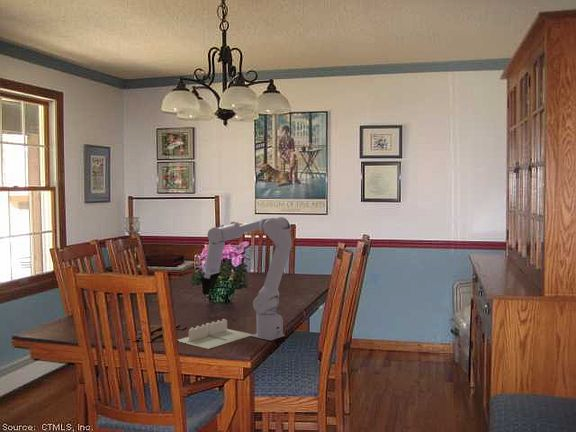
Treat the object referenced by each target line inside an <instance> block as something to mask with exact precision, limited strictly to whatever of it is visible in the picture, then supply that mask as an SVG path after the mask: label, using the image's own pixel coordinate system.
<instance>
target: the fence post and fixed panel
mask: <svg viewBox="0 0 576 432" xmlns="http://www.w3.org/2000/svg"><path fill="white" fill-rule="evenodd" d="M211 324H212V322H211V323H210V322H207V323H205V324H201V326H200V325H196V326H195V328H194V327H190V329H188V337H189V341H194V340H197V339H201V338H204V337H207V336H211Z"/></svg>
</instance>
